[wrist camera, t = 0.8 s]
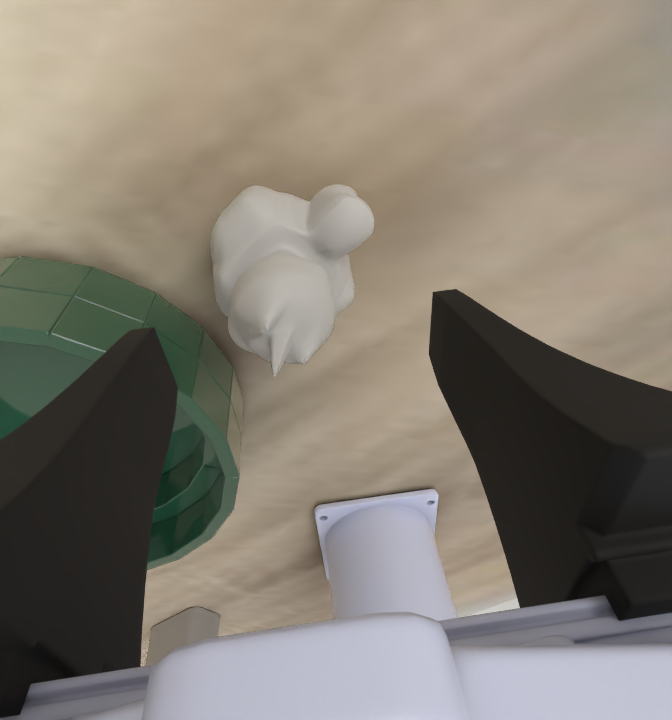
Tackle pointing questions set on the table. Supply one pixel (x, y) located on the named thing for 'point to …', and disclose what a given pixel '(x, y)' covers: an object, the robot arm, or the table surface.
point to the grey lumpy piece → (286, 268)
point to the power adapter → (181, 632)
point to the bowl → (87, 344)
